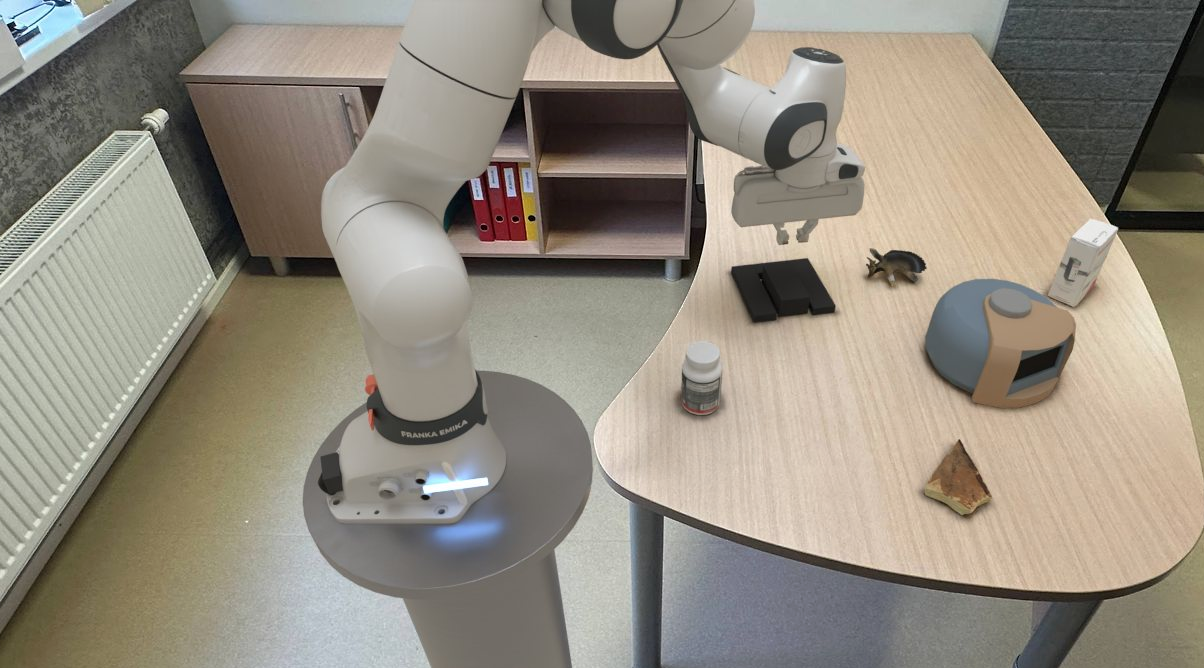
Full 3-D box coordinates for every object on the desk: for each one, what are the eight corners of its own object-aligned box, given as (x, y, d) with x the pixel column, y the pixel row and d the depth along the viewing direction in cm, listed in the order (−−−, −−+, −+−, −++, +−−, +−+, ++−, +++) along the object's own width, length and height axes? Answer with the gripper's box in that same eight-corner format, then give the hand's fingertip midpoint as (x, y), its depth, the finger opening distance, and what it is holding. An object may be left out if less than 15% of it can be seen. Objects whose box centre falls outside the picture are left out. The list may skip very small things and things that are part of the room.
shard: (956, 445, 109) (959, 436, 107) (1009, 473, 105) (1013, 464, 104) (920, 492, 102) (923, 484, 101) (975, 523, 99) (979, 515, 98)
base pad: (753, 323, 127) (754, 315, 126) (730, 273, 137) (731, 266, 136) (834, 312, 130) (836, 305, 129) (806, 264, 140) (807, 257, 138)
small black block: (778, 317, 129) (781, 300, 126) (761, 281, 136) (763, 265, 133) (807, 313, 129) (810, 296, 127) (788, 278, 136) (791, 261, 134)
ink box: (1065, 274, 138) (1091, 215, 130) (1094, 286, 136) (1122, 227, 128) (1044, 296, 134) (1070, 236, 125) (1073, 308, 131) (1101, 248, 123)
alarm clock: (984, 423, 112) (1011, 360, 103) (897, 340, 125) (914, 278, 116) (1082, 384, 118) (1115, 321, 109) (989, 309, 131) (1012, 248, 122)
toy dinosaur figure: (876, 292, 132) (929, 282, 131) (870, 250, 131) (924, 239, 130) (866, 288, 139) (916, 279, 139) (860, 248, 138) (911, 239, 138)
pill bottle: (688, 385, 117) (690, 334, 110) (724, 394, 115) (729, 343, 108) (675, 411, 113) (676, 359, 106) (713, 420, 111) (717, 369, 105)
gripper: (740, 179, 111) (734, 259, 121) (875, 166, 115) (858, 245, 124) (729, 158, 116) (723, 237, 125) (859, 146, 119) (844, 224, 129)
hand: (791, 241), depth 125 cm, fingers closed
